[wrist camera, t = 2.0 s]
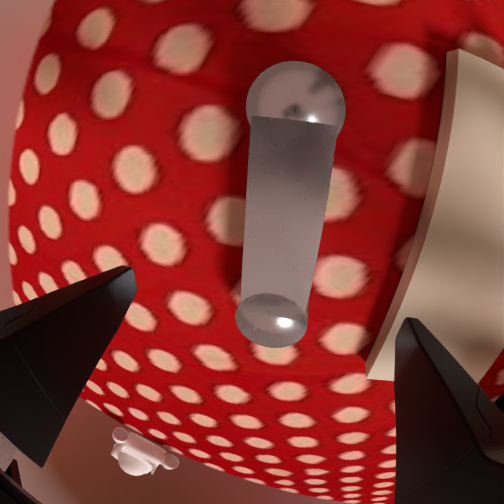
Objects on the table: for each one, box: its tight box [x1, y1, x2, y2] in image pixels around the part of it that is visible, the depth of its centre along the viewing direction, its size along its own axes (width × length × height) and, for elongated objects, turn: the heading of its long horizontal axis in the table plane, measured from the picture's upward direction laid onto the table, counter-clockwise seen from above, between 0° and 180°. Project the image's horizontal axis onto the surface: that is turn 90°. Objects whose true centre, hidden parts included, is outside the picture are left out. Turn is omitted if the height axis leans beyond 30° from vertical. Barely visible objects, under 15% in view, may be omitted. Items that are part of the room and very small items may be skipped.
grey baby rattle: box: [235, 61, 346, 348], centre depth 15 cm, size 15×4×2 cm, turn 176°
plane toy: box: [111, 427, 179, 476], centre depth 38 cm, size 10×20×6 cm, turn 150°
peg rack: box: [365, 49, 504, 383], centre depth 11 cm, size 20×10×5 cm, turn 176°
